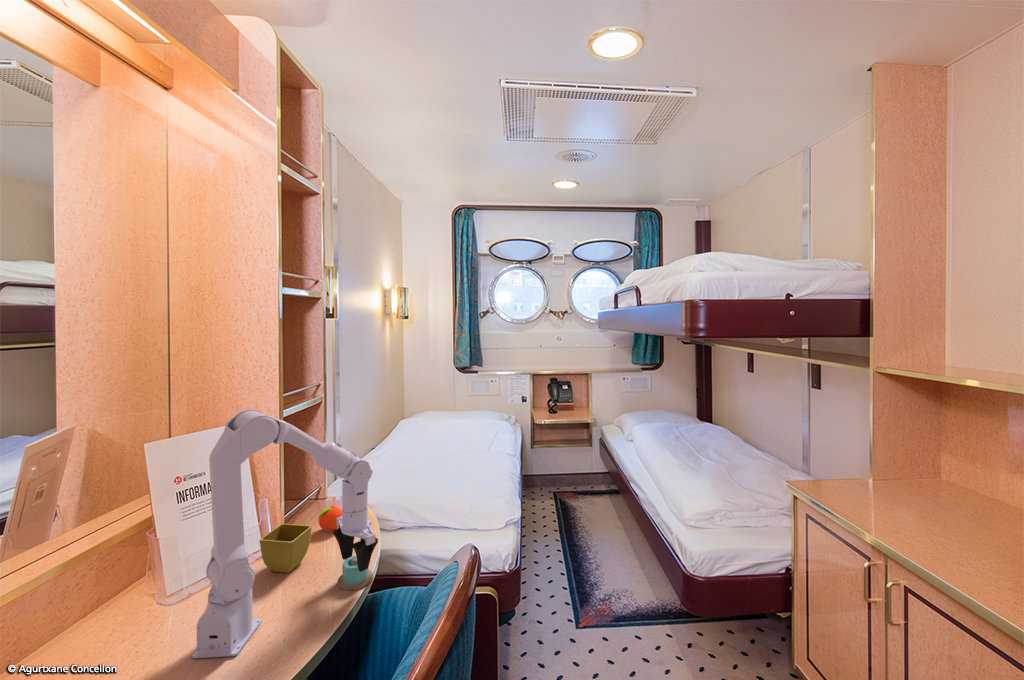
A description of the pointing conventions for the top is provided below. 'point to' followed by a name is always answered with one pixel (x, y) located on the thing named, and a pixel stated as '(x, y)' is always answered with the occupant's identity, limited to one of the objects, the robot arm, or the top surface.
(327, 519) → the clementine
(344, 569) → the collar
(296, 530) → the flower pot
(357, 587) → the post
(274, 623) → the top surface
